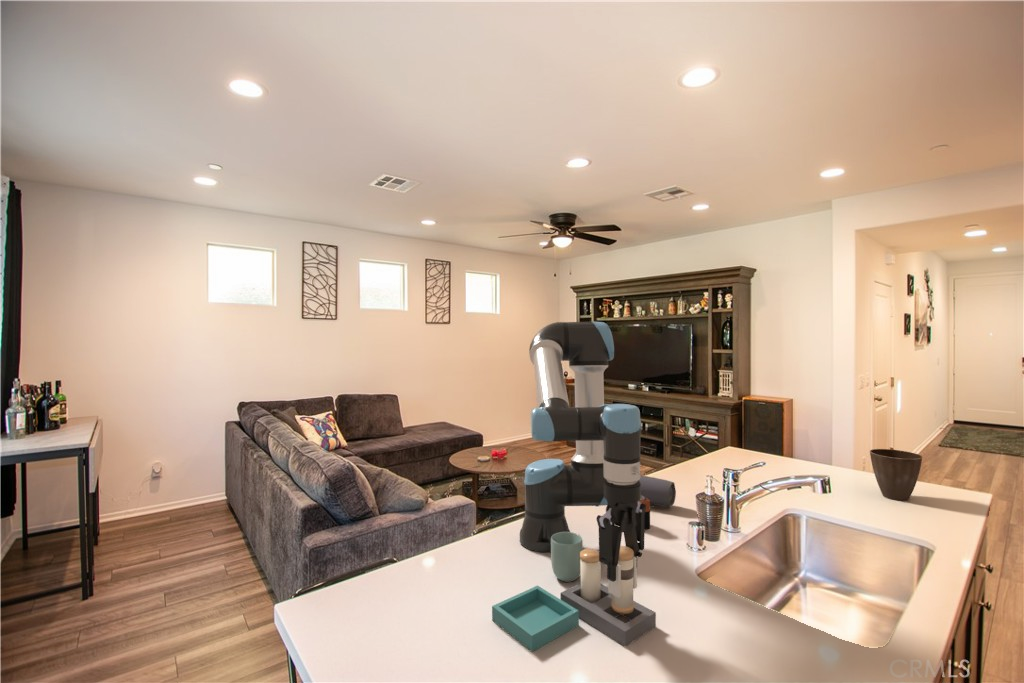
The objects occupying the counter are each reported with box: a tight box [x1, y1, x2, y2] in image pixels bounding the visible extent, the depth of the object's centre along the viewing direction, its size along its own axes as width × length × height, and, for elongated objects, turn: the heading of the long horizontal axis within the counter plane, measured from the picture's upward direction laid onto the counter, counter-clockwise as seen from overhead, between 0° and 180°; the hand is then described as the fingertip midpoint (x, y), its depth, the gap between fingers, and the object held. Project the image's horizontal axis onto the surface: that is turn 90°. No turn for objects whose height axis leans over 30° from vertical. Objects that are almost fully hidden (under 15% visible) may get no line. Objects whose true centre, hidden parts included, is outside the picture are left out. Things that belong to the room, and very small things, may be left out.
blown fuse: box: [611, 545, 634, 614], centre depth 100 cm, size 5×5×12 cm
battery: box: [638, 495, 651, 531], centre depth 151 cm, size 4×7×10 cm, turn 16°
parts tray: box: [491, 585, 580, 652], centre depth 101 cm, size 13×13×3 cm
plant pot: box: [869, 448, 923, 502], centre depth 173 cm, size 15×15×16 cm
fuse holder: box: [560, 582, 657, 648], centre depth 103 cm, size 18×10×3 cm, turn 38°
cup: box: [550, 531, 584, 583], centre depth 120 cm, size 8×8×10 cm
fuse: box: [580, 548, 602, 604], centre depth 107 cm, size 5×5×12 cm
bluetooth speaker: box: [639, 474, 677, 507], centre depth 171 cm, size 23×9×10 cm, turn 55°
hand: (622, 589), depth 100 cm, fingers closed on blown fuse, 4 cm apart
